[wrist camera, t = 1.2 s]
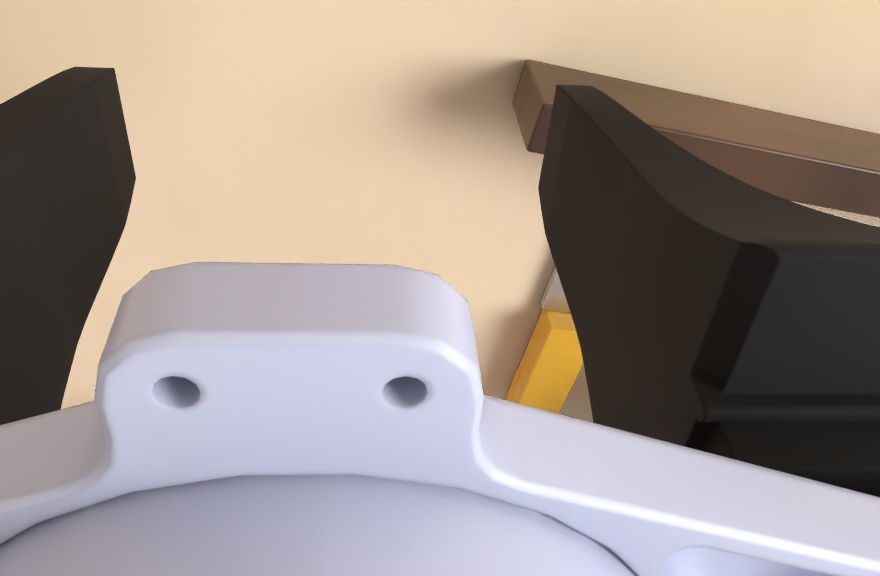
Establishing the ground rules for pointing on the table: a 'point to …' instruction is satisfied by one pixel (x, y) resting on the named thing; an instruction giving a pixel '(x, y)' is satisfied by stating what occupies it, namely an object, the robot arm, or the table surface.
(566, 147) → the robot arm
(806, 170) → the walnut rail
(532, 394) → the knife
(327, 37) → the table surface
